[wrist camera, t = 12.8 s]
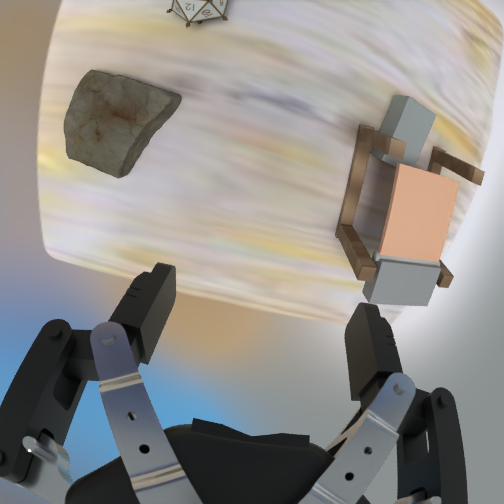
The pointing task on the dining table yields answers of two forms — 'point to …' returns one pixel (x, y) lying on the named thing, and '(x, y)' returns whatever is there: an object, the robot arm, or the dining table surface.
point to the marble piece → (114, 120)
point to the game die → (199, 9)
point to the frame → (345, 230)
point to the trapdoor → (412, 238)
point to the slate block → (406, 128)
